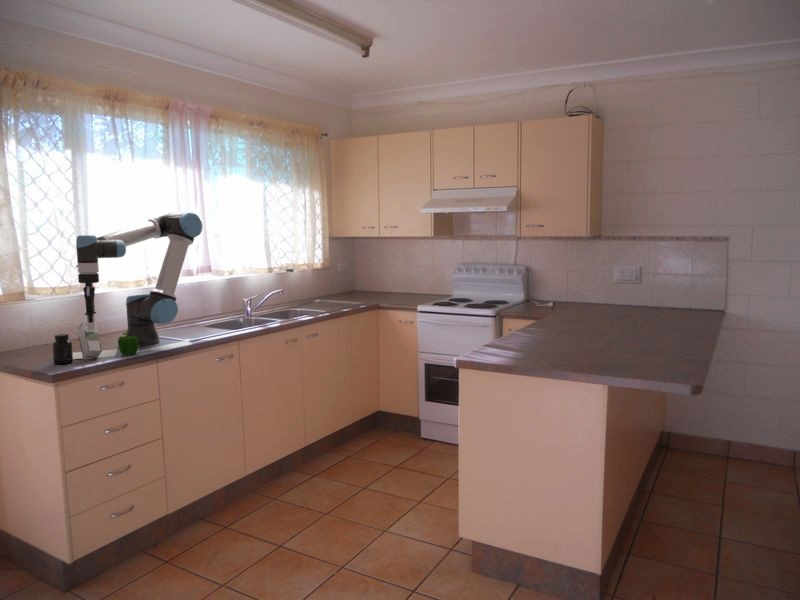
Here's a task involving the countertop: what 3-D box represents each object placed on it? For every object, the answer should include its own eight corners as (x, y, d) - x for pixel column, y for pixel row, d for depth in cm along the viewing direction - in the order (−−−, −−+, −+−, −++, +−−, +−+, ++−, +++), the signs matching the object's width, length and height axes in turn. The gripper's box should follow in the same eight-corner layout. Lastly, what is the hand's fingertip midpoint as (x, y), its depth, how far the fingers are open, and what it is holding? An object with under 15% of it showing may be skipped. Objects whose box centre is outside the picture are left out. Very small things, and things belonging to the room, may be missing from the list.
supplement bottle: (49, 365, 239) (47, 335, 238) (64, 361, 246) (62, 332, 244) (62, 366, 237) (60, 336, 235) (77, 363, 243) (75, 333, 242)
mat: (117, 350, 268) (117, 349, 268) (115, 357, 254) (115, 356, 254) (71, 353, 261) (71, 352, 261) (67, 360, 247) (66, 359, 247)
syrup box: (97, 358, 252) (90, 329, 258) (102, 351, 249) (96, 322, 255) (82, 358, 247) (76, 329, 253) (88, 351, 244) (81, 321, 250)
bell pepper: (132, 351, 265) (130, 329, 263) (143, 354, 260) (141, 331, 259) (113, 355, 258) (112, 332, 256) (124, 357, 253) (123, 334, 252)
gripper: (79, 272, 251) (82, 328, 254) (76, 274, 239) (79, 333, 242) (99, 271, 254) (102, 327, 257) (97, 274, 242) (100, 331, 245)
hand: (91, 329), depth 250 cm, fingers closed
